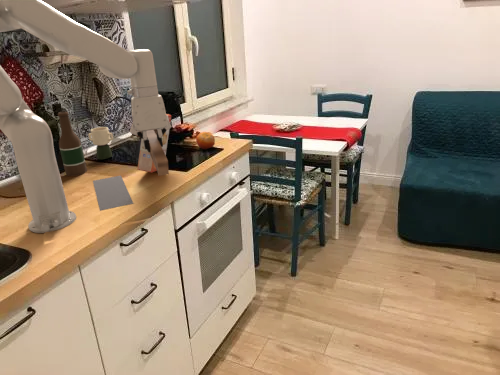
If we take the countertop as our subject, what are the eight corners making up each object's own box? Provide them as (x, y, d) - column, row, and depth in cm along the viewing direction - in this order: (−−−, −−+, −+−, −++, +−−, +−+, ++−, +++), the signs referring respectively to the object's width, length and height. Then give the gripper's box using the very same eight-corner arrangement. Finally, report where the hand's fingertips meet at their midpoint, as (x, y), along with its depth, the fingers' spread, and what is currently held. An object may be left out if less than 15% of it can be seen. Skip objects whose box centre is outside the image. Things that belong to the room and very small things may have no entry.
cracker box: (153, 173, 146) (160, 114, 142) (136, 170, 146) (143, 111, 143) (165, 168, 160) (172, 114, 156) (149, 166, 160) (156, 111, 157)
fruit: (205, 140, 189) (209, 127, 184) (215, 152, 186) (219, 138, 180) (190, 144, 184) (194, 131, 179) (200, 156, 181) (203, 142, 175)
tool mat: (133, 204, 128) (133, 203, 128) (100, 212, 124) (99, 210, 124) (121, 176, 154) (120, 175, 154) (93, 182, 150) (92, 180, 150)
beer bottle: (65, 173, 162) (50, 112, 154) (86, 169, 165) (72, 109, 157) (67, 178, 156) (51, 115, 147) (88, 174, 159) (75, 112, 150)
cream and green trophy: (120, 155, 180) (115, 126, 175) (113, 160, 174) (107, 130, 169) (97, 156, 182) (91, 127, 177) (89, 161, 175) (82, 131, 171)
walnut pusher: (175, 172, 126) (174, 159, 123) (152, 177, 124) (150, 163, 121) (156, 131, 144) (155, 119, 141) (135, 134, 141) (134, 122, 138)
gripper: (119, 97, 120) (130, 157, 127) (174, 90, 126) (182, 148, 132) (116, 94, 127) (126, 151, 133) (169, 87, 132) (176, 143, 139)
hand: (154, 149), depth 133 cm, fingers closed on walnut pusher, 2 cm apart
